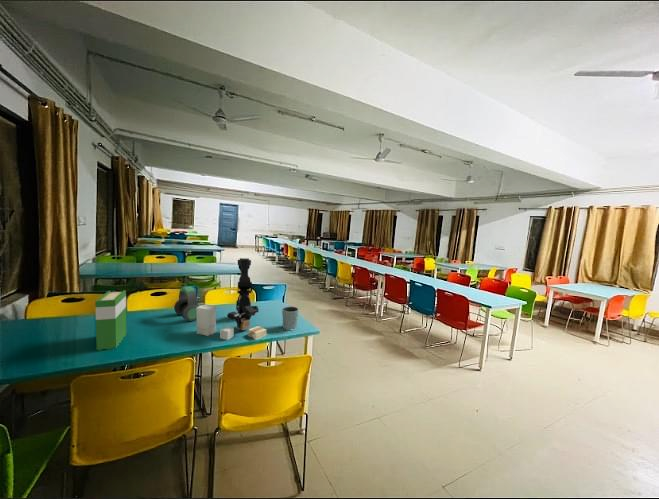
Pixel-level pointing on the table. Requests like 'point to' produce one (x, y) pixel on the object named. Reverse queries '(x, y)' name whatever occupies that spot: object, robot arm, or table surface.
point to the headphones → (187, 303)
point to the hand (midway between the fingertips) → (243, 326)
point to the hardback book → (110, 319)
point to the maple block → (257, 332)
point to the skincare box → (206, 319)
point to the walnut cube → (244, 324)
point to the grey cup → (290, 317)
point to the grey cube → (226, 333)
